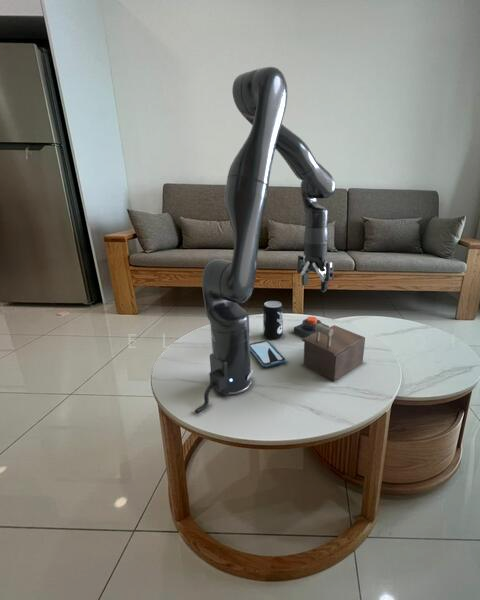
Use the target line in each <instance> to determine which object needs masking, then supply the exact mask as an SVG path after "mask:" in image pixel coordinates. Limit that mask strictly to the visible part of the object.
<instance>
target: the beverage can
mask: <svg viewBox="0 0 480 600" xmlns="http://www.w3.org/2000/svg"><path fill="white" fill-rule="evenodd" d="M263 304H264V306H262V307H263V308H262V319H263V320H262V321H263V323H262V324H263V337H265V339H267V340H278V339H280V338H282V336H283V335H284V333H283V332H284V331H283V330H284V329H283V328H284V325H283V323H284V308H283V306H282V302H281V301H277V300H269V301H268V300H267V301H266V302H264V303H263Z"/></svg>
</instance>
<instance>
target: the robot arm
mask: <svg viewBox="0 0 480 600" xmlns="http://www.w3.org/2000/svg"><path fill="white" fill-rule="evenodd" d="M231 89H232V91H231V93H232V99H233V101H234V102H233V103H235V106H236V109H237V110H238V111H239V113H240V114H241V115H242V117H243V118H244V119H245V120H246V121H247V122H248V123H249V124H250V125H251V128H250V132H249V133H248V136H247V138H246V139H245V141H244V143H243V145H242V146H241V148H239V150H238V152H237V154H236V155H235V157H234V159H233V161H232V162H231V164H230V166H229V169H228V173H227V177H226V184H225V190H224V195H223V196H224V198H223V199H224V206H225V210H226V214H227V217H228V220H229V223H230V226H231V230H232V233H233V253H232V259H231V260H229V259H222V258H215V259H212V260H210V261H208V263H207V264H206V265H205V266H204V269H203V271H202V277H201V289H202V296H203V302H204V309H205V315H206V317H207V319H208V321H209V326H210V335H211V336H210V338H211V348H212V350H211V351H212V353H209V366H210V372H209V373H208V375H209V385H208V387H206V389H205V391H204V394H203V400H204V401H203V404H202V405H200V406H199V407H197V408H195V410H194V412H195V413H196V414H199V413H201V412H203V411H204V410H205V409H206V408H207V407H208V405H209V401H210V399H209V396H210V392H211V391H212V389H213V388H214V390H216V391H217V392H218V393H220V394H221V395H222V396H223V397H228V396H234V395H239V394H243V392H246V391H247V390H249V389H250V387H251V386H252V375H253V373H254V370H253V369H254V368H253V369H252V367H251V351H250V343H251V342H250V340H251V339H250V316H249V313H248V312H247V310H246V309H244V308H243V307H242V306H241V305H240V304H243V303H246V302H247V301H248V300H249V299H250V298H251V296H252V294H253V291H254V288H255V284H256V278H257V269H258V267H257V266H258V257H259V255H258V254H259V244H260V236H261V229H262V228H261V227H262V223H263V217H264V211H265V207H266V201H267V197H268V191H269V184H270V176H271V171H272V166H273V160H274V157H275V156H274V155H275V150H276V151H277V152H278V153H279V155H280V156H281V157H282V159H283V160H284V161H285V163H286V164H287V165H288V167H289V169H290V170H291V172H292V173H293V174H294V176H296V178H297V179H298V180H300V181H301V182H300V196H301V199H302V203H303V208H304V212H305V219H304V220H305V223H304V235H303V254H300V255H298V256H297V266H296V267H297V268H296V271H297V273H299V274H300V275H301V285H302V286H303V287H306V286H308V285H309V273H310V272H313V273H316V274H317V276H319V279H320V280H321V281H320V292H321V293H325V292H327V290H328V288H329V287H328V286H329V281H332V280H334V274H335V273H334V272H335V271H334V268H335V267H334V265H335V263H334V261H327V259H326V258H327V255H328V242H329V241H328V240H329V239H328V238H329V231H328V230H329V229H328V224H329V223H328V222H329V211H328V209H327V208H326V207H323V206H322V205H320V204H319V202H318V200H328V199H331V198H332V197H333V196H334V195H335V192H336V182H335V179H334V177H333V175H332V174H331V173H330V172H329V171H328V170H327V169H326V168H325V166H323V165H322V164H321V163H319V162H318V161H317V160H316V157H315V156H314V154H313V152H312V151H311V149H310V148H309V146H308V144H306V142H305V141H304V140H303V138H301V137H300V136H299V135H297V134H296V133H295V132H293V131H292V130H290V129H289V128H288V127H286V126H285V125H284V124H283V120H284V117H285V113H286V108H287V105H288V85H287V80H286V77H285V75H284V74H283V72H282V71H281V70H280V69H279V68H278V67H275V66H264V67H261V68H256V69H253V70H252V69H251V70H249V71H246V72H243V73H240V74H239V75H237V76H236V77H235V78H234V80H233V83H232V88H231Z"/></svg>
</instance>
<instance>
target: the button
mask: <svg viewBox="0 0 480 600" xmlns="http://www.w3.org/2000/svg"><path fill="white" fill-rule="evenodd" d="M306 319H307V324H311V325H313V324H317V319H318V318H317V317H316V316H307V317H306Z"/></svg>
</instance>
